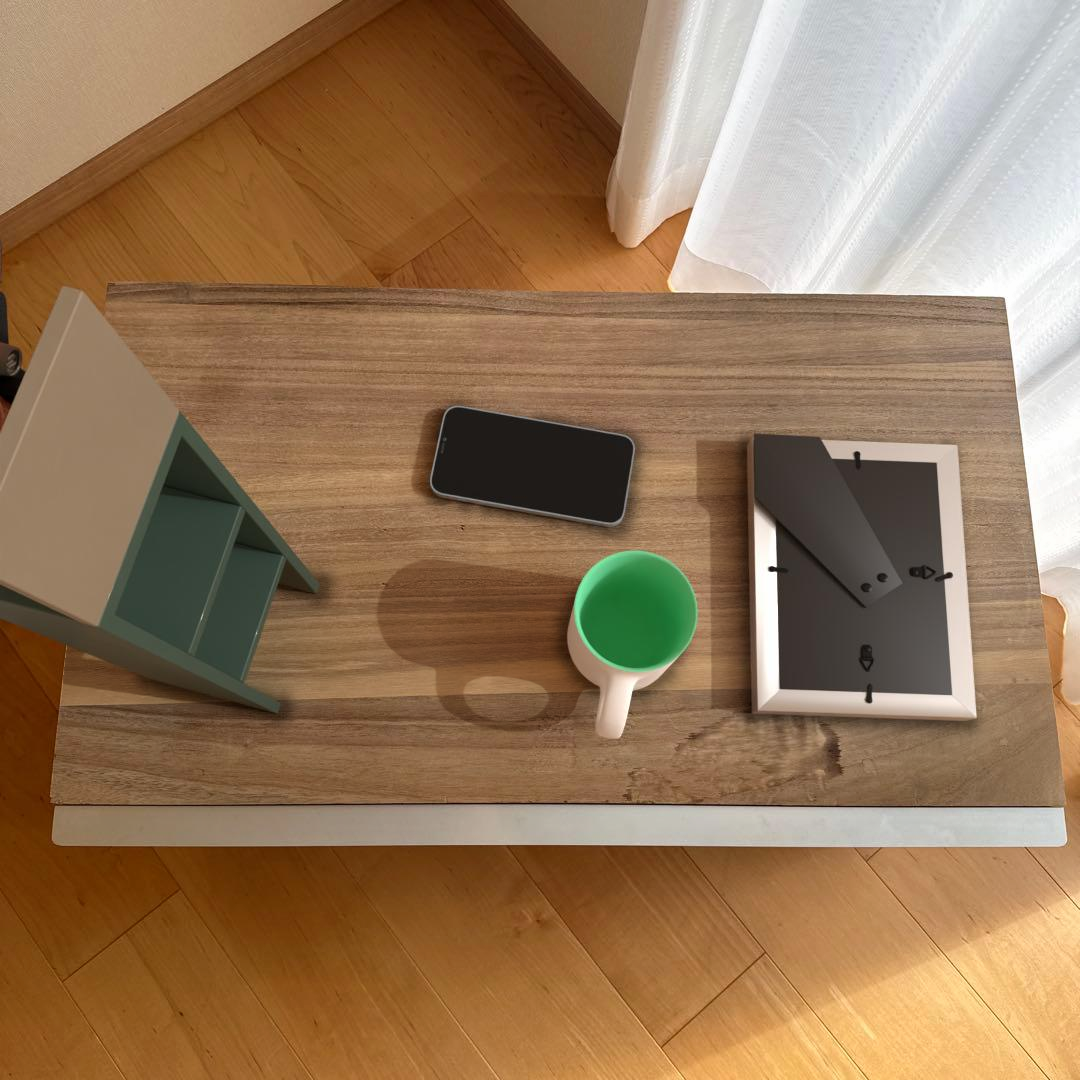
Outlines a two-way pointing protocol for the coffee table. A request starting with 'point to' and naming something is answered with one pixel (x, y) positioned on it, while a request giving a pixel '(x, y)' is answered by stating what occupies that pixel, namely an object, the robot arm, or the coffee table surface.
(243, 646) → the shelf
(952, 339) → the coffee table surface
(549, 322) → the coffee table surface
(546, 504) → the smartphone
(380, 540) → the coffee table surface
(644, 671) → the mug
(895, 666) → the picture frame
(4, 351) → the robot arm
